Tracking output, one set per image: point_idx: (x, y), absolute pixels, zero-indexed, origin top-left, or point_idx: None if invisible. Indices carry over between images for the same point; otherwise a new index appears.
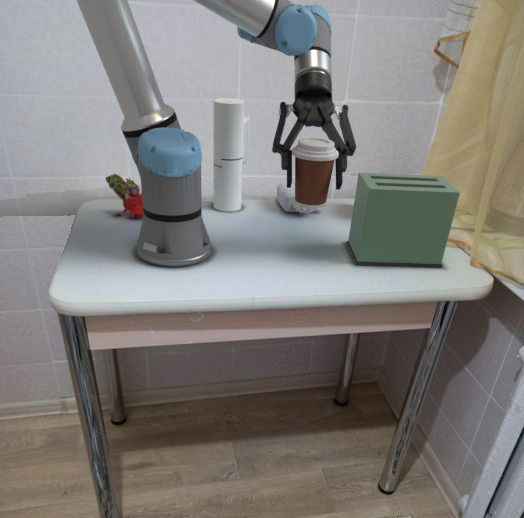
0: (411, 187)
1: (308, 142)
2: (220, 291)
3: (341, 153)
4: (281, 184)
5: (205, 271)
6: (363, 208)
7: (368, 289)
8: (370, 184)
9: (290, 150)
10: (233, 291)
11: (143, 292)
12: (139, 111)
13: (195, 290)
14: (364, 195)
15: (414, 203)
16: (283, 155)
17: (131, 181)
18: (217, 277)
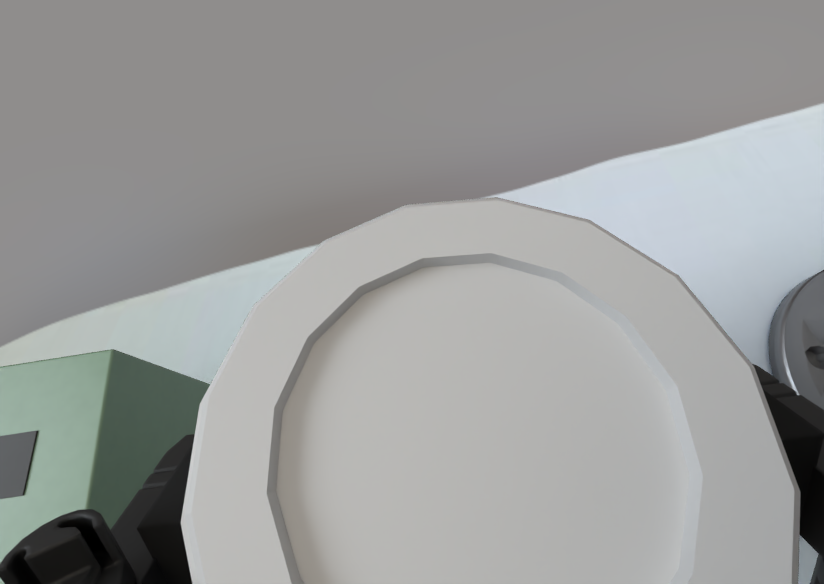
0: None
1: (597, 443)
2: (642, 183)
3: (153, 506)
4: None
5: (728, 270)
6: (190, 431)
7: (286, 267)
8: (74, 442)
9: (787, 433)
10: (612, 189)
11: (816, 142)
12: None
13: (702, 175)
14: (149, 452)
15: None
16: (821, 422)
17: None
18: (679, 245)
